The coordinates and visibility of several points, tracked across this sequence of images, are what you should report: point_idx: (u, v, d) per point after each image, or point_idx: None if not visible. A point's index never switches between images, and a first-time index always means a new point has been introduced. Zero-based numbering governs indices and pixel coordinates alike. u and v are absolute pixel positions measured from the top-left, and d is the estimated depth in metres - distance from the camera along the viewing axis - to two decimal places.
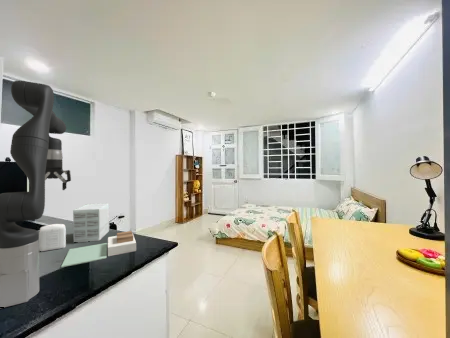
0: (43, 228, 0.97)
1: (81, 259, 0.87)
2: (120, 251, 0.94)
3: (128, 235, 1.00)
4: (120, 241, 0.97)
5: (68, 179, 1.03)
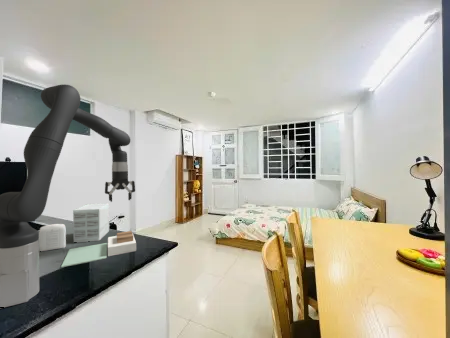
0: (43, 228, 0.97)
1: (81, 259, 0.87)
2: (120, 251, 0.94)
3: (128, 235, 1.00)
4: (120, 241, 0.97)
5: (133, 189, 1.08)
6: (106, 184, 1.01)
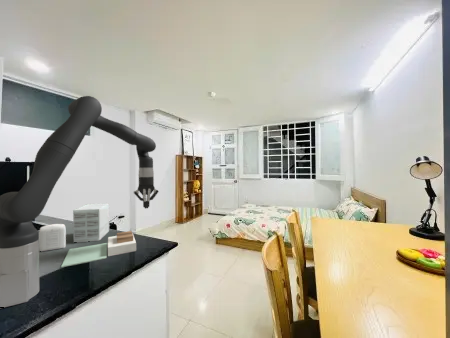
0: (43, 228, 0.97)
1: (81, 259, 0.87)
2: (120, 251, 0.94)
3: (128, 235, 1.00)
4: (120, 241, 0.97)
5: (151, 197, 1.07)
6: (135, 193, 1.03)
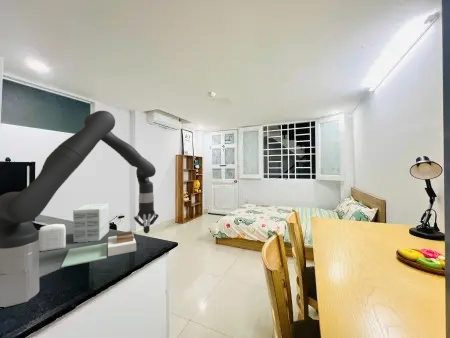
0: (43, 228, 0.97)
1: (81, 259, 0.87)
2: (120, 251, 0.94)
3: (128, 235, 1.00)
4: (120, 241, 0.97)
5: (151, 222, 1.07)
6: (136, 219, 1.03)
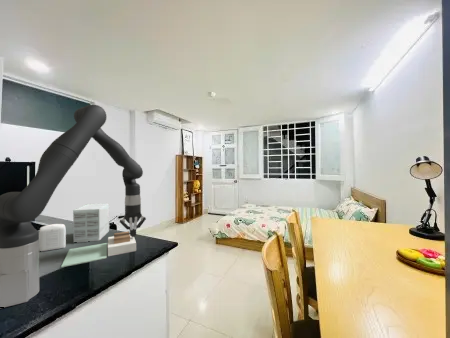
0: (43, 228, 0.97)
1: (81, 259, 0.87)
2: (120, 251, 0.94)
3: (125, 235, 1.00)
4: (117, 242, 0.96)
5: (138, 225, 1.04)
6: (121, 222, 1.00)
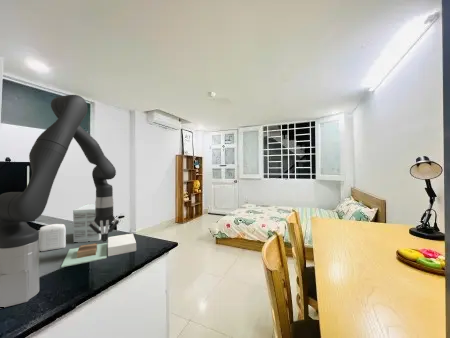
0: (43, 228, 0.97)
1: (81, 259, 0.87)
2: (120, 251, 0.94)
3: None
4: (92, 251, 0.91)
5: (110, 229, 0.97)
6: (91, 226, 0.94)
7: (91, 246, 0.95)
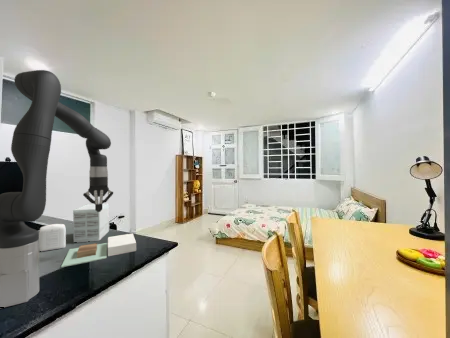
0: (43, 228, 0.97)
1: (81, 259, 0.87)
2: (120, 251, 0.94)
3: None
4: (92, 251, 0.91)
5: (104, 200, 0.97)
6: (85, 195, 0.93)
7: (91, 246, 0.95)
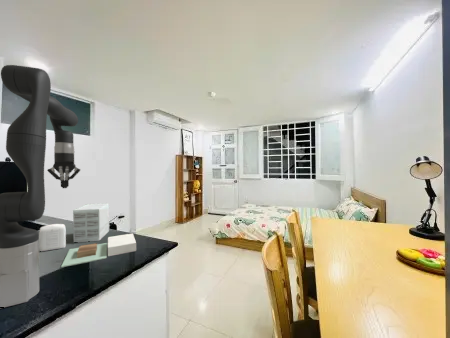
0: (43, 228, 0.97)
1: (81, 259, 0.87)
2: (120, 251, 0.94)
3: None
4: (92, 251, 0.91)
5: (70, 176, 0.97)
6: (49, 171, 0.93)
7: (91, 246, 0.95)
